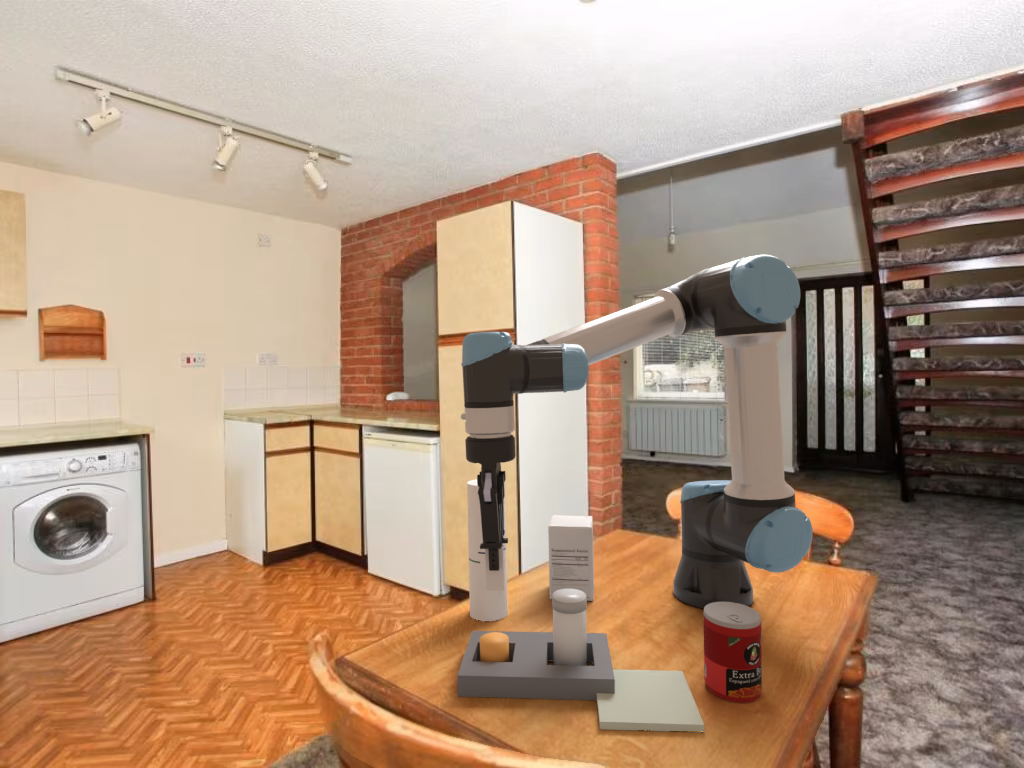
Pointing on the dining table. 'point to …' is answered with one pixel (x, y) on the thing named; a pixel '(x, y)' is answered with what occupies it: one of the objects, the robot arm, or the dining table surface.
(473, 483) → the cylindrical container
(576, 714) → the dining table surface
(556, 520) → the supplement box
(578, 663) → the cartridge
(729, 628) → the canned food
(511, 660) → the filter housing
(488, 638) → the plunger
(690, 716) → the mat
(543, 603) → the dining table surface
